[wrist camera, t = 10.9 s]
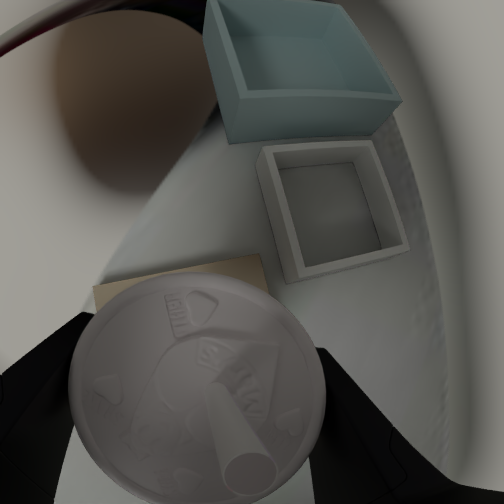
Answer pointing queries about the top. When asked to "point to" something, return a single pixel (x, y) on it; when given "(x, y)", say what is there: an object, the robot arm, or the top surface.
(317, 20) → the bin
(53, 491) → the robot arm
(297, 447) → the smoothie
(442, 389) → the top surface
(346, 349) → the top surface
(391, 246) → the grey tray
